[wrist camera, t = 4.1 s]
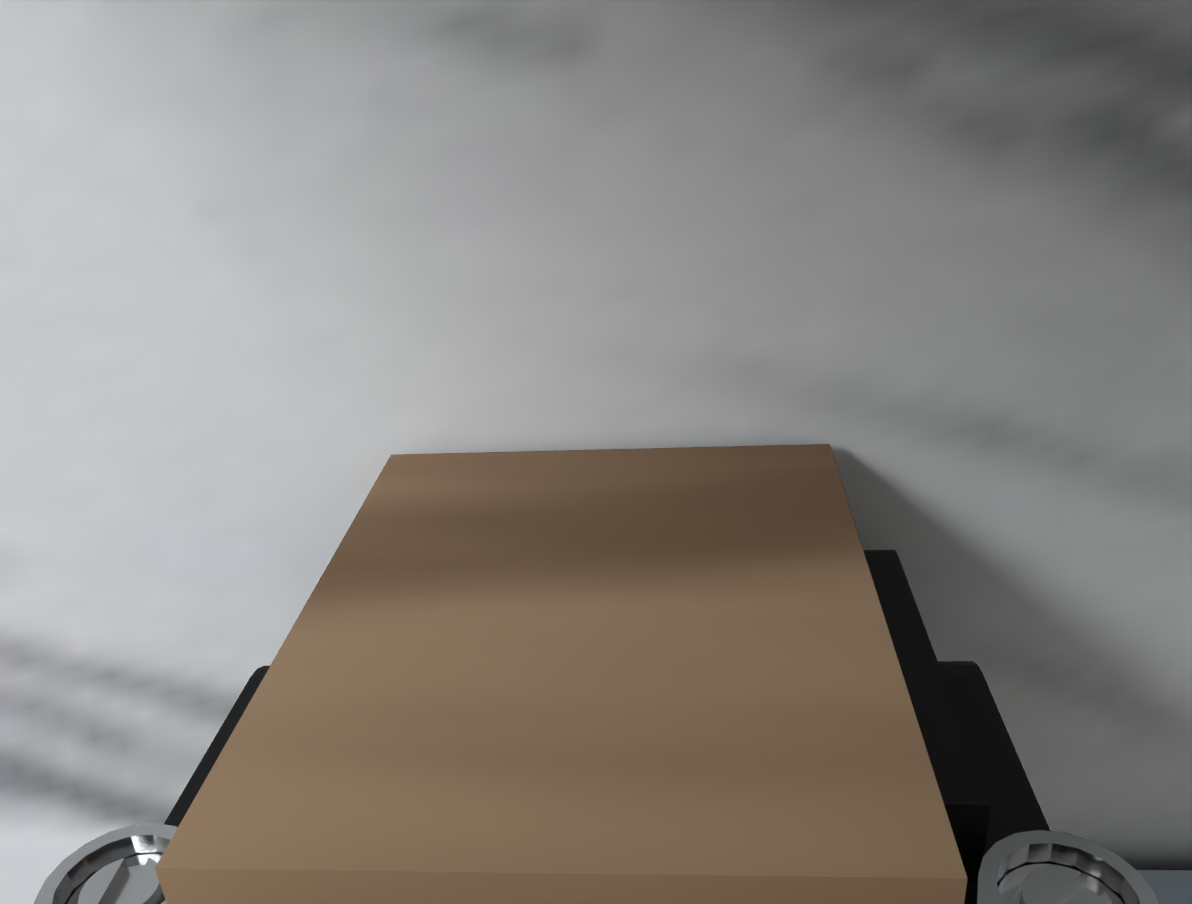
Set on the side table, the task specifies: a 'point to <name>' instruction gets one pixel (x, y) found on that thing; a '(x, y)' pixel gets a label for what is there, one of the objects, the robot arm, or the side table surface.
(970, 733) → the robot arm
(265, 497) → the side table surface
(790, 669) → the walnut block
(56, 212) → the side table surface
